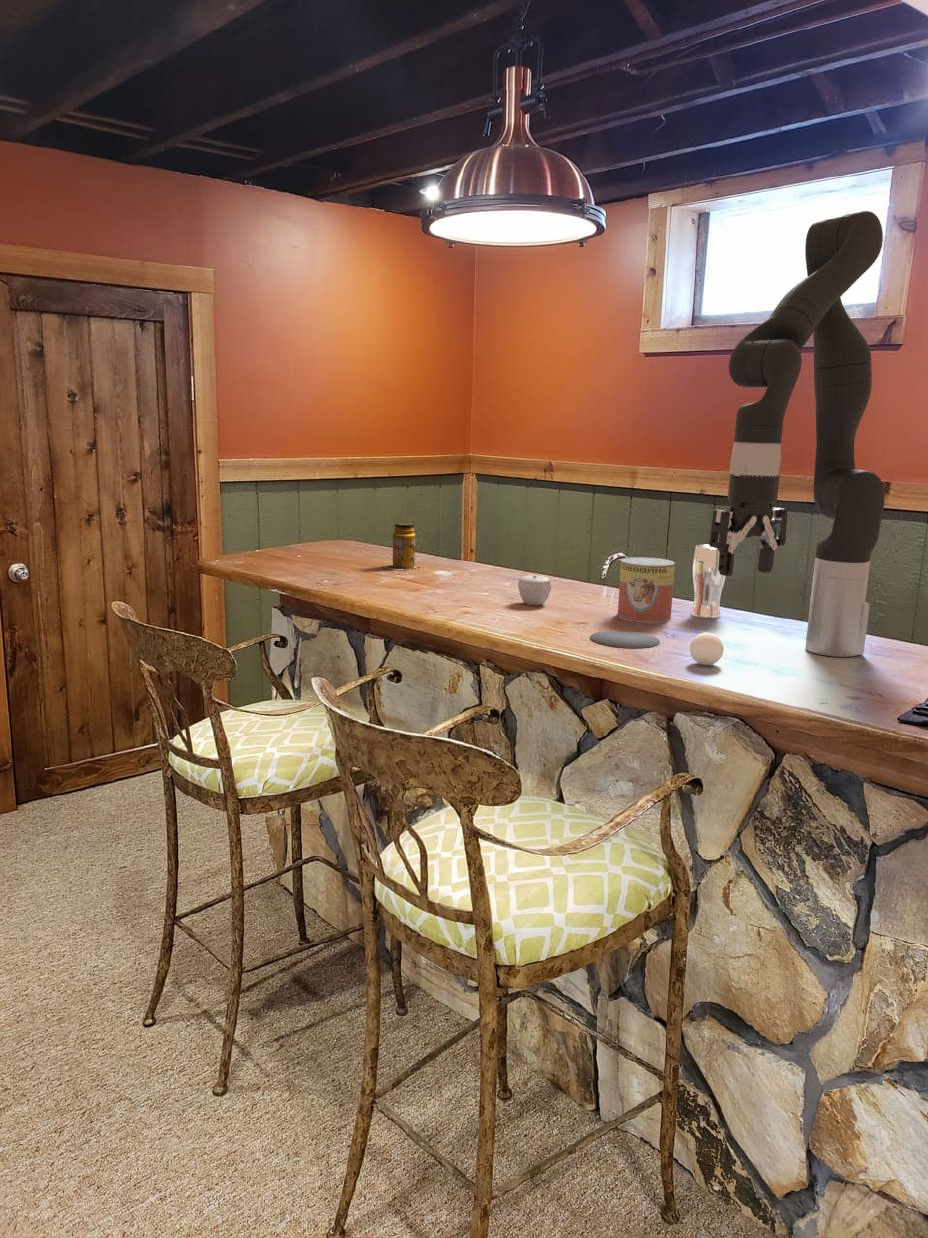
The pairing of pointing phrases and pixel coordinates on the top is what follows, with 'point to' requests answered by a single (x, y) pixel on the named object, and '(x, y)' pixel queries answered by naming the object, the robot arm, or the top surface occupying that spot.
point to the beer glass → (706, 582)
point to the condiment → (403, 547)
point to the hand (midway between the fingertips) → (745, 573)
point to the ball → (706, 648)
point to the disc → (624, 639)
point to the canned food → (646, 589)
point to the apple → (534, 589)
